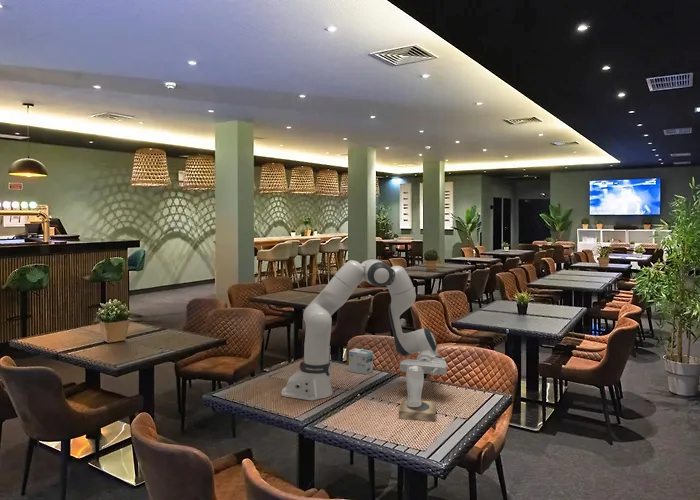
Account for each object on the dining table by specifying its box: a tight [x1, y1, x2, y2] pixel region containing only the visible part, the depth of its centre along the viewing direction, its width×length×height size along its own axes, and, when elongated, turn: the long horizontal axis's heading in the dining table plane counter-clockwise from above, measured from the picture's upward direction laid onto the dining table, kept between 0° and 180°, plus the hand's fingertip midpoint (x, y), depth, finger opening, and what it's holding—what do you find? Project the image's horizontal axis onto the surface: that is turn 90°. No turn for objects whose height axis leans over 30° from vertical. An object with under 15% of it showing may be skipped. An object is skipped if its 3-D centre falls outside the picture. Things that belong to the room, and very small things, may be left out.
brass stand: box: [398, 398, 437, 422], centre depth 204 cm, size 14×13×3 cm
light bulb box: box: [348, 347, 374, 375], centre depth 258 cm, size 11×7×11 cm, turn 57°
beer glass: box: [405, 366, 425, 408], centre depth 204 cm, size 7×7×15 cm
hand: (420, 372), depth 215 cm, fingers open, 8 cm apart
